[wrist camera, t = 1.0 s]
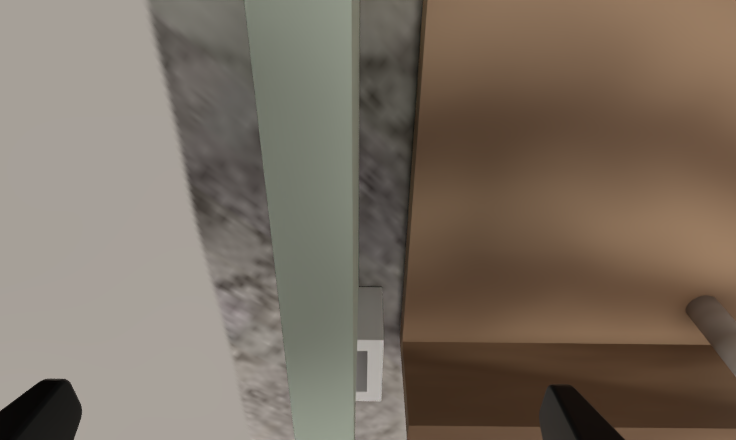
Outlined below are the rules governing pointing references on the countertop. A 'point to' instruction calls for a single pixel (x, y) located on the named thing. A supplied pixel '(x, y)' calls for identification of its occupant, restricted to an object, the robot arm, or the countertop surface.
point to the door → (316, 207)
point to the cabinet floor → (572, 218)
